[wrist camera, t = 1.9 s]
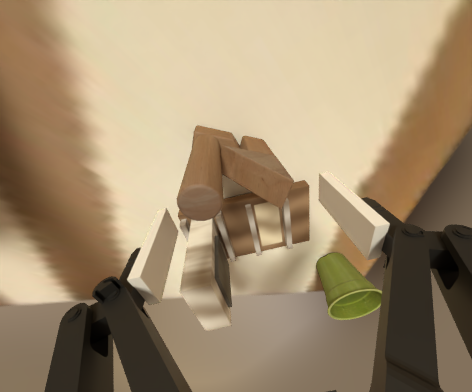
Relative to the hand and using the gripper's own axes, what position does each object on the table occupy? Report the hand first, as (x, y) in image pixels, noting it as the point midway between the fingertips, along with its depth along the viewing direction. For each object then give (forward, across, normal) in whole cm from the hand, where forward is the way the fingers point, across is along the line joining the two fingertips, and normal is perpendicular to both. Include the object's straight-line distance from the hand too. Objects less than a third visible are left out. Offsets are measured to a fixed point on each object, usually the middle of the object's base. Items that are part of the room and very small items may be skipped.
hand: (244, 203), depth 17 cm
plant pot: (+18, +18, -36) cm, 43 cm away
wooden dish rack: (+17, 0, -17) cm, 24 cm away
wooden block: (+17, 0, 0) cm, 17 cm away
